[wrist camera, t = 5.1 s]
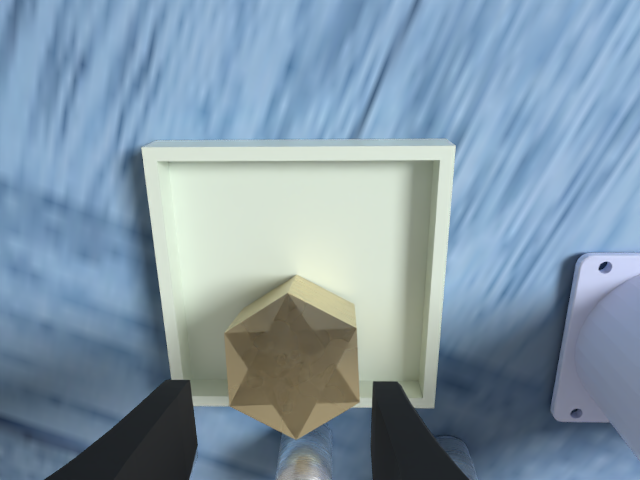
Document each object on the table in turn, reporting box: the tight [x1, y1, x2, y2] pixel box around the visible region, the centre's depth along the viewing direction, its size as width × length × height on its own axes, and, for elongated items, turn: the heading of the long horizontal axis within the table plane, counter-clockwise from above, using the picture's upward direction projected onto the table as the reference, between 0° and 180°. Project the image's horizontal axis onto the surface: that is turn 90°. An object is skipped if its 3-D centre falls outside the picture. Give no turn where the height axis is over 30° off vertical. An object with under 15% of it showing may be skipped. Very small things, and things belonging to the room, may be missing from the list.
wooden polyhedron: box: [224, 275, 360, 440], centre depth 19 cm, size 5×5×3 cm
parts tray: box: [141, 139, 456, 408], centre depth 20 cm, size 11×11×2 cm
